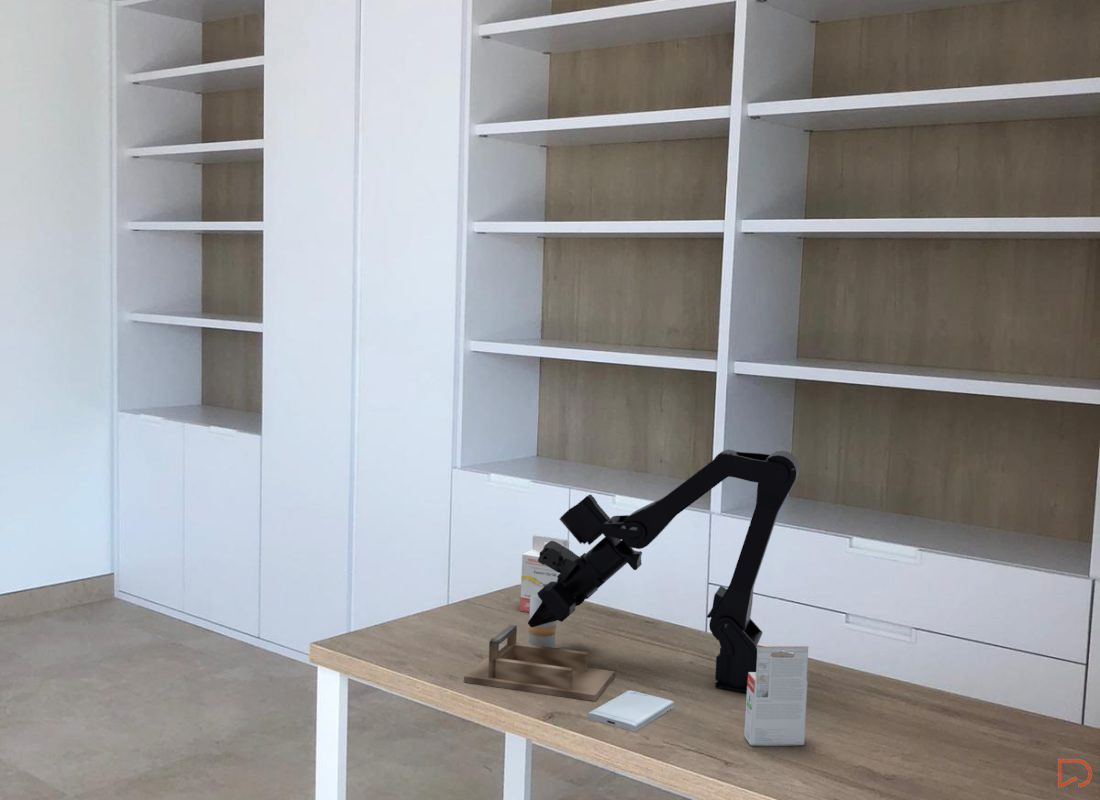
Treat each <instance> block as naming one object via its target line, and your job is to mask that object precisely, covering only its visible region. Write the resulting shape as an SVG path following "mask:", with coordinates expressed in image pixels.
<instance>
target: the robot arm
mask: <svg viewBox="0 0 1100 800" xmlns="http://www.w3.org/2000/svg"><path fill="white" fill-rule="evenodd" d="M800 470H801V465H800V463H799V459H798V458H797V457H796V456H795V455H794V454H792V453H791V452H789V451H786V450H778V451H774V452H772V453H770V454H767V453H761V452H744V451H736V450H733V449H725V450H722V451H721V452H719V453H718V454H717V455H716V456H715V457H714V458H713V460H711V461H710V462H708V463H707V464H706V465H705V466H704V467H702V468H701V469H700V470H698V471H697V472H695V473H694V474H693V475H692V476H690V477H689V478H688V479H687V480H685V481H684V482H682V483H681V484H680V485H679V486H677V487H676V488H675V489H673V490H671V492H669V493H667V494H666V495H665V496H663V497H662V498H659V499H658V500H657V499H656V500H655V501H652V502H650V503H649V504H646V505H644V506H643V507H641V508H638V509H636V510H635V511H633V512H632V513H630V514H627V515H613V516H611V517H610V516H609V515H608V513H606V511H604V509H602V507H601V506H600V504H598V501H597V500H596V498H595V497H594V496H593V495H592V494H588V495H586V496H585V497H584V498H583V499H582V500H580V501H579V502H577V504H575V505H574V506H572V507H570V508H569V509H568V510H567V511H566V512H564V513H563V515H561V516H560V518H559V521H560V522H561V523H562V524H563V526H564V527H565V528H566V529H567V530H568V531H569V532H570V533H571V534H572V536H573V537H574V539H576V541H577V542H578V543H579V544H580V545H581V544H583V545H586V544H588V545H589V546H591V545H592V544H593V543H594V542H595V541H596V540H597V539H599V538H600V537H601V536H602V535H603V536H604V537H603V538H602V539H601V540H600V541H598V543H596V544H595V545H594V546H593V547H592V548H590V550H588V551H587V552H584V553H582V554H581V555H580V556H579V555H577V554H575V552H574V551H573V550H570V548H569V549H567V548H565V547H564V546H562V545H560V544H559V543H557V542H555V541H550V542H546V543H544V544H545V546H544V548H543V550H542V551H541V552H540V556H539V558H538V562H539V563H541V564H542V565H546V566H548V567H550V568H551V569H553V570H555V571H556V572H559V573H560V574H559V575H558V576H557V577H558V579H557V582H550V583H549V584H547V585H546V586H545V587H543V588H542V589H541V590H540V591H539V592H538V593H537V594H538V597H539V598H540V599H541V600H542V603H541V604H540V606H539V607H538V609H537V610H536V612H535V613H534V614H533V616H532V617H531V619H530V618H529V619H528V621H527V624H528V627H529V626H530V627H536V626H539V625H543V624H546V623H550V622H553V621H556V622H557V621H559V622H561V623H562V622H564V621H565V619H566V620H567V619H568V617H569V616H570V615H572V614H573V613H574V612H575V611H576V607H579V606H580V605H581V604H583V603H584V602H585V600H588V599H589V598H590V597H591V596H593V594H594V593H596V592H598V590H599V588H601V587H602V586H603V585H604V584H606V582H607V581H609V580H610V578H612V577H613V576H614V575H616V573H618V572H619V571H620V570H621V569H622V568H624V566H625V565H626V564H628V565H629V566H630V568H631V569H632V570H633V571H636V570H638V569H640V567H641V566H642V555H643V552H642V551H638V550H642V549H644V548H647V547H648V546H649V545H650V544H651V543H652V542H653V541H654V540H655V539H656V538H657V537H658V536H660V534H661V533H662V532H663V531H664V530H665V529H666V528H667V527H668V526H669V524H670V523H671V522H672V521H673V520H674V518H675V517H676V516H678V515H679V514H680V513H681V512H683V511H684V510H686V509H687V508H689V506H691V505H692V504H693V503H695V502H696V501H697V500H699V499H700V498H701V497H702V496H704V495H705V494H707V493H708V492H710V491H711V490H712V489H713V488H715V487H716V486H717V485H719V484H720V483H721V482H723V481H724V480H726V479H727V478H728V477H729V478H736V479H740V480H744V481H748V482H752V483H757V488H756V489H757V490H756V499H755V501H756V503H755V508H754V510H753V514H752V516H751V519H750V523H749V526H748V529H747V532H746V535H745V538H744V540H743V541H744V542H743V545H742V547H741V550H740V553H739V556H738V559H737V562H736V564H735V565H736V566H735V569H734V571H733V574H732V577H731V581H730V584H729V585H728V587H727V588H725V587H724V586H722V585H720V586H719V587H718V589H717V591H716V592H714V593H715V594H714V595H713V602H712V607H711V610H710V611H709V612H708V614H707V615H706V617H707V619H709V630H710V632H711V634H712V636H713V637H714V638H715V639H716V640H717V641H718V642H719V645H720V647H719V653H718V655H716V659H715V660H716V661H715V676H714V677H715V678H714V679H715V681H717V682H715V685H714V686H715V688H717V689H723V690H724V689H725V690H729V691H734V692H741V693H746V694H747V682H748V672H756V664H757V647H758V645H759V642H760V640H761V638H762V635H763V631H762V630H761V629H760V628H759V627H758V625H757V624H756V623H755V622H754V621H753V619H751V617H752V616H751V615H752V608H753V598H754V597H753V596H754V587H755V583H756V581H757V578H758V575H759V572H760V568H761V565H762V563H763V560H764V556H765V555H766V552H767V548H768V545H769V542H770V539H771V535H772V533H773V531H774V527H775V524H776V521H777V518H778V515H779V512H780V510H781V508H782V506H783V505H784V502H785V501H786V499H787V497H788V495H789V493H790V492H791V490H792V489H793V486H794V485H795V483H796V481H797V479H798V477H799V476H800V472H801V471H800ZM635 549H637V550H635Z"/></svg>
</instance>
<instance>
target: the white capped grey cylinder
mask: <svg viewBox="0 0 1100 800" xmlns="http://www.w3.org/2000/svg"><path fill="white" fill-rule="evenodd" d="M541 603H542V600H541V599H540V598H539V597H538V594H537V593H536V594H532V595H531V596H530V612H529V620H530V619H531V617H532V616H533V614H534V613H535V612H536V610H537V609H538V607H539V606H540V604H541ZM556 634H557V621H553V622H550V623H546V624H543V625H539V626H536V627H530V626H529V625H528V644H529V645H536V646H544V647H551V648H556V637H557V636H556Z"/></svg>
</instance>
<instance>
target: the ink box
mask: <svg viewBox="0 0 1100 800" xmlns="http://www.w3.org/2000/svg"><path fill="white" fill-rule="evenodd" d="M756 648H757V664H756V672H748V682H747V693H746V697H745V698H746V699H745V700H746V702H745V715H744V733H743V734H744V738H745V740H746V741H747V742H748V744H749V746H751V747H753V746H754V747H778V746H779V747H780V746H782V747H783V746H785V747H787V746H788V747H790V746H804V745H805V736H806V715H807V713H806V712H807V698H808V662H809V661H808V659H809V646H808V645H807V646H804V645H803V646H757V647H756ZM781 651H784V652H785V653H793V655H792V656H772V654H773V653H780V652H781Z"/></svg>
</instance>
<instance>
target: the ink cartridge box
mask: <svg viewBox="0 0 1100 800" xmlns="http://www.w3.org/2000/svg"><path fill="white" fill-rule="evenodd" d="M550 541H555V542H557V543H559V544H560V545H562V546H564V547H565V548H567V549H569V550H570V542H569V539H564V538H559V537H551V536H546V535H544V536H543V535H537V534H534V535H533V536H532V549H531V550H528V551H526V552H524V553H522V557H521V578H520V579H521V582H520V604H519V611H520V612H524V613H525V612H526V613H530V596H531V595H532V594H536V593H538V592H539V591H540V590H541V589H542V588H543V587H545V586H546V585H547V584H549V583H550V582H557V579H558V577H557V576H558V575H559V574H560V573H559V572H556V571H555V570H553V569H551V568H550V567H548V566H546V565H542V564H541V563H539V562H538V558H539V556H540V552H541V551H542V550H543V548H544V546H545V544H546V543H548V542H550Z"/></svg>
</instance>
